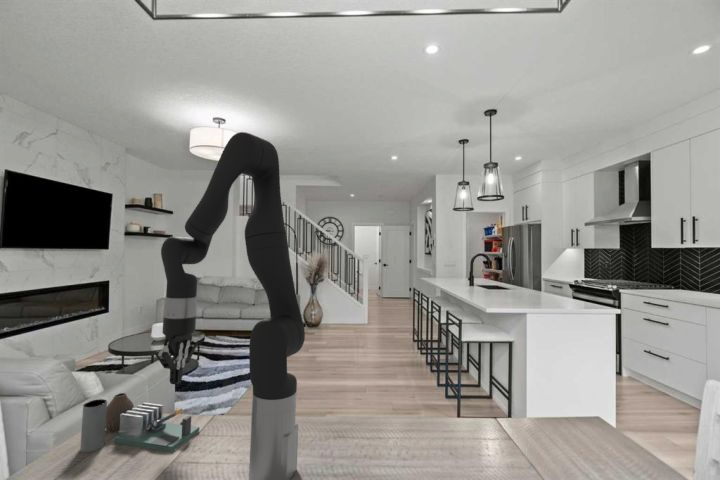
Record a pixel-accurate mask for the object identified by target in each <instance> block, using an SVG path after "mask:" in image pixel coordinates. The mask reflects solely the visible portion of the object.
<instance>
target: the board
mask: <svg viewBox="0 0 720 480" xmlns="http://www.w3.org/2000/svg"><path fill="white" fill-rule="evenodd" d="M164 423H166V427H165V428H163V429H161V430H160V431H158V432H157V433H150V432H149V433H148V434H146V435H145V436H143V437H141V438H140V439H137V438H130V437H124V436H118V435H117V436H115V437H114V439H113V443H116V444H120V445H127V446H131V447H132V446H133V447H137V448H143V449H144V448H146V449H150V450H151V449H152V450H156V451H157V450H158V451H163V452H170V453H173V452H174V451H175V450H176V449H177V448H179V447H180V446H182V445H184V443H186V442H188V441H189V440H190V439H191V438H193V437H194V436H196V435H197V434H199V432H200V428H201V427H200V426H197V425H191V432H190V433H189V434H187V435H186V436H182V425H180V423H174V422H167V421H165V422H164Z"/></svg>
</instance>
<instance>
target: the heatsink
mask: <svg viewBox="0 0 720 480" xmlns="http://www.w3.org/2000/svg"><path fill="white" fill-rule="evenodd" d="M164 406H165V405H164V404H157V403H150V402H142V404H137V406H136V407H134V408H132V411H129V410H128V411H126V414H124V413H122V414H120V430H119V431H118V432H117V436H124V437H130V438H137V439H140V438H141V437H143V436H145V435H146V434H148V433H149V432H150V433H157V432H158V431H160V430H161V429H163V428H165V427H166V423H164V422H163V423H162V424H160V425H158V426H157V427H155V428H153V427H152V423H154V422H156V421H157V420H159V419H161V418H162V417H164Z"/></svg>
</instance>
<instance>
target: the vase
mask: <svg viewBox="0 0 720 480" xmlns="http://www.w3.org/2000/svg"><path fill="white" fill-rule="evenodd" d="M132 408H135V405H134V403H133V401H132V399H130V397H128V395H127V393H125V392H120V393H117V394H115V395H114V396H113V398H112V400H111V401H110V402H109V403H108V404H107V410H106V425H105V430H107V431H108V432H110V433H118V431H119V430H120V414H122V413H124V414H126V411H128V410H129V411H132Z"/></svg>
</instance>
